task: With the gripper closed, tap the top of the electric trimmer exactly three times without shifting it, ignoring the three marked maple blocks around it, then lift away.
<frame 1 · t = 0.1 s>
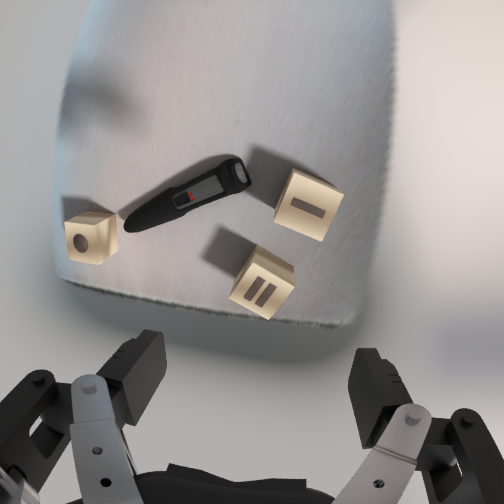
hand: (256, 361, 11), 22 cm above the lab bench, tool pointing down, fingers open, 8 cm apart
maple block b: (264, 271, 34), on the lab bench
electric trimmer: (188, 197, 32), on the lab bench
maple block c: (102, 230, 35), on the lab bench
maple block a: (304, 197, 31), on the lab bench
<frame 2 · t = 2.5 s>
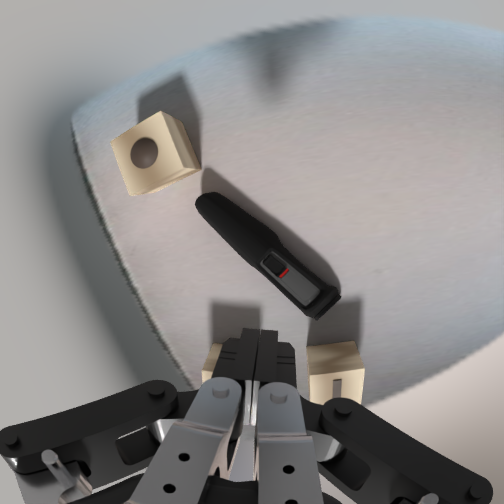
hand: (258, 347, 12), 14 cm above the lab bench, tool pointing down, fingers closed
maple block b: (236, 363, 29), on the lab bench
electric trimmer: (271, 256, 26), on the lab bench
maple block c: (168, 157, 25), on the lab bench
maple block a: (330, 362, 28), on the lab bench
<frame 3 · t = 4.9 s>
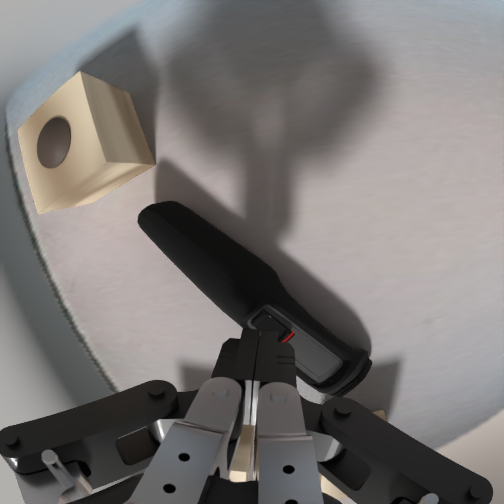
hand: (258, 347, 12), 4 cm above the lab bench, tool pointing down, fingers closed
maple block b: (221, 435, 19), on the lab bench
electric trimmer: (267, 303, 16), on the lab bench
maple block c: (109, 148, 15), on the lab bench
maple block a: (348, 434, 18), on the lab bench
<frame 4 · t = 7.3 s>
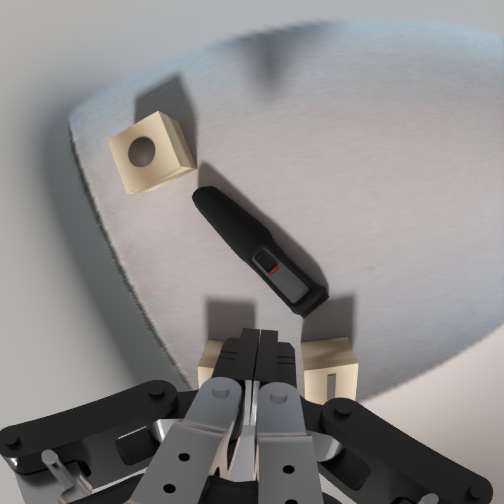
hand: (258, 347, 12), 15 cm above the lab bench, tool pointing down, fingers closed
maple block b: (231, 360, 30), on the lab bench
electric trimmer: (263, 252, 27), on the lab bench
maple block c: (164, 156, 25), on the lab bench
maple block a: (324, 358, 29), on the lab bench
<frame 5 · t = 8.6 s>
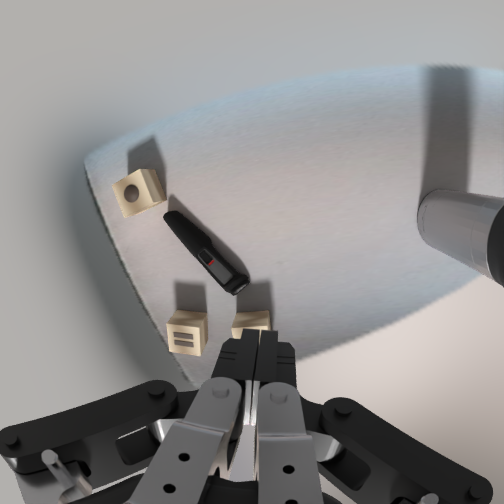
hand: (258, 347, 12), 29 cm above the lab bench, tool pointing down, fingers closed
maple block b: (192, 324, 45), on the lab bench
electric trimmer: (208, 252, 42), on the lab bench
maple block c: (147, 191, 40), on the lab bench
maple block a: (254, 325, 44), on the lab bench
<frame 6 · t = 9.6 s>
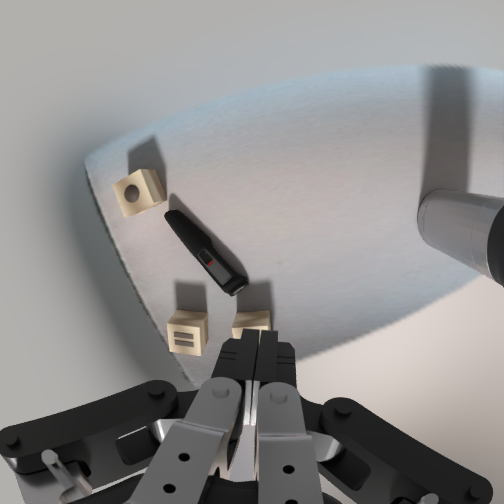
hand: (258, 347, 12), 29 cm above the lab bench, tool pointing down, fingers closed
maple block b: (193, 324, 45), on the lab bench
electric trimmer: (208, 252, 42), on the lab bench
maple block c: (147, 191, 41), on the lab bench
maple block a: (254, 325, 44), on the lab bench
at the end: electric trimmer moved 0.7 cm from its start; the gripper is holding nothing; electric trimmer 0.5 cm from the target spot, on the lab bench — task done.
